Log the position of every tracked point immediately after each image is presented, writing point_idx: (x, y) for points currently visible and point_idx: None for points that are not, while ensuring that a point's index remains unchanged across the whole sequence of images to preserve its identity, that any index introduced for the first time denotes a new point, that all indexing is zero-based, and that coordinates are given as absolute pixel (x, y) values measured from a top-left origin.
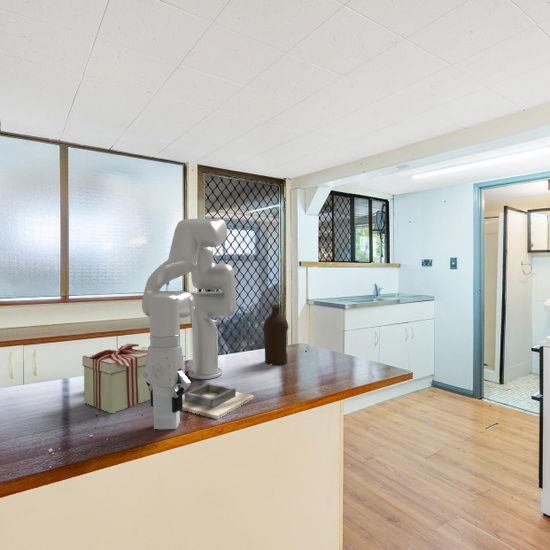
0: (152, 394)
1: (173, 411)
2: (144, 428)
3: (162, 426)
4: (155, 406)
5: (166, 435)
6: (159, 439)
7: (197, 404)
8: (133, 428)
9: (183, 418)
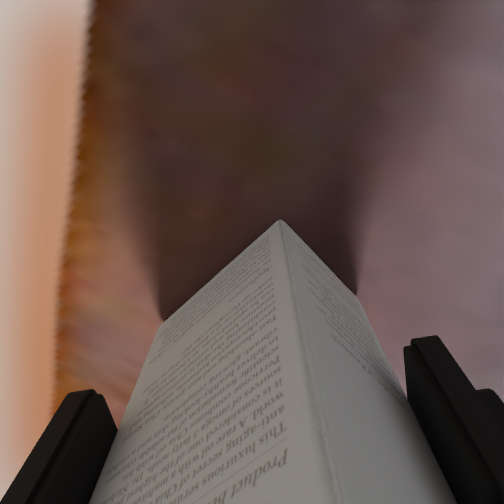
0: (477, 469)
1: (68, 397)
2: (369, 182)
3: (226, 270)
4: (272, 331)
5: (122, 228)
6: (95, 157)
7: None
8: (450, 118)
9: None
